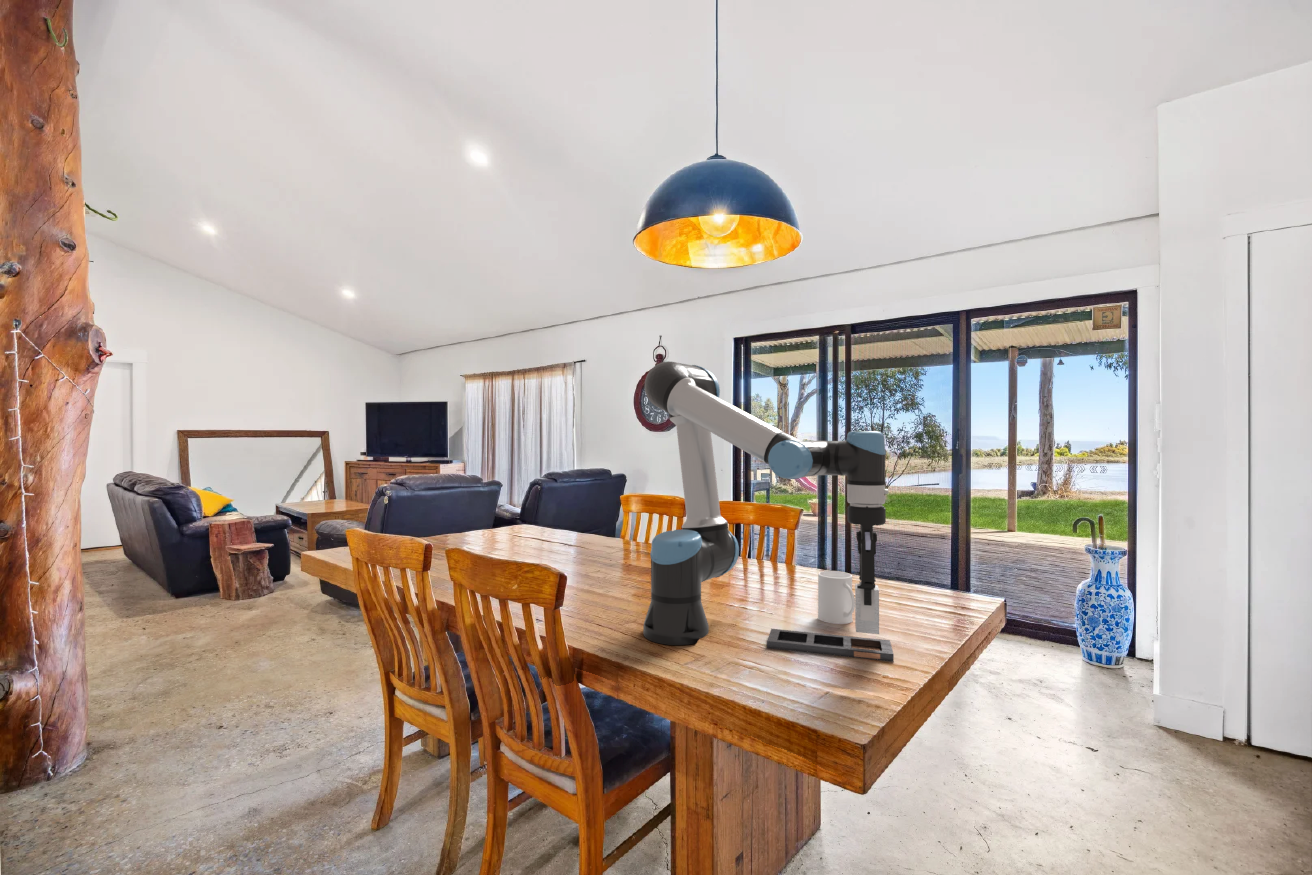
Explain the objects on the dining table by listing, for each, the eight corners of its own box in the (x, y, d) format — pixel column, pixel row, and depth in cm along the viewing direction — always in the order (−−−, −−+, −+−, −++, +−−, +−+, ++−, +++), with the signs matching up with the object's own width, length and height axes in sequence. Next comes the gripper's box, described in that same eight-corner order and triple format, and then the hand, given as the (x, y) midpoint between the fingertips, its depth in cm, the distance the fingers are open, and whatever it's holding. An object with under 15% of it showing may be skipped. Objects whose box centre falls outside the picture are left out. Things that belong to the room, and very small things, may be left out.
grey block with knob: (855, 632, 121) (855, 586, 121) (855, 625, 125) (855, 581, 125) (879, 634, 119) (878, 587, 119) (877, 627, 124) (877, 582, 124)
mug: (867, 631, 138) (867, 580, 138) (834, 633, 136) (834, 582, 136) (841, 616, 150) (841, 569, 150) (811, 618, 148) (811, 571, 148)
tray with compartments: (767, 652, 124) (767, 641, 124) (771, 639, 132) (771, 628, 132) (893, 666, 117) (893, 654, 117) (889, 651, 125) (889, 640, 125)
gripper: (889, 510, 113) (889, 631, 113) (882, 501, 129) (882, 606, 129) (848, 508, 115) (848, 627, 115) (846, 500, 132) (847, 603, 132)
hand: (866, 616), depth 122 cm, fingers closed on grey block with knob, 4 cm apart
